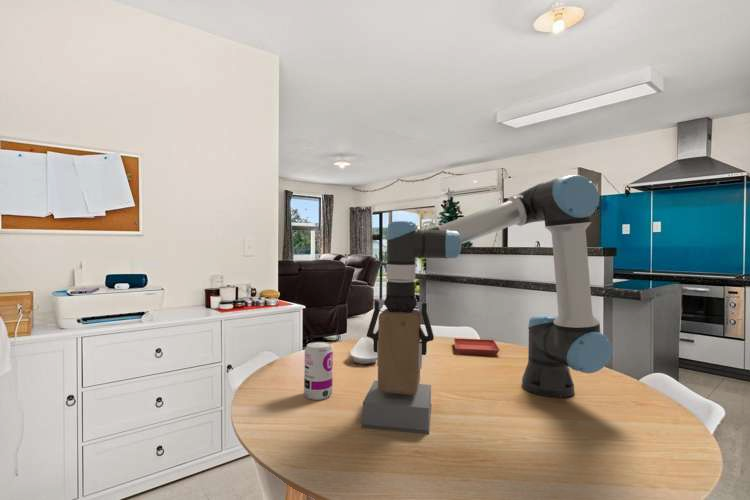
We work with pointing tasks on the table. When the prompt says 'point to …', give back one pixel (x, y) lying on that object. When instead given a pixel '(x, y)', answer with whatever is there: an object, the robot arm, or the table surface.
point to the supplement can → (318, 370)
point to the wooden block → (398, 352)
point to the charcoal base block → (398, 410)
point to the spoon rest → (364, 351)
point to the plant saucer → (476, 346)
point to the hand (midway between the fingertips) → (399, 365)
